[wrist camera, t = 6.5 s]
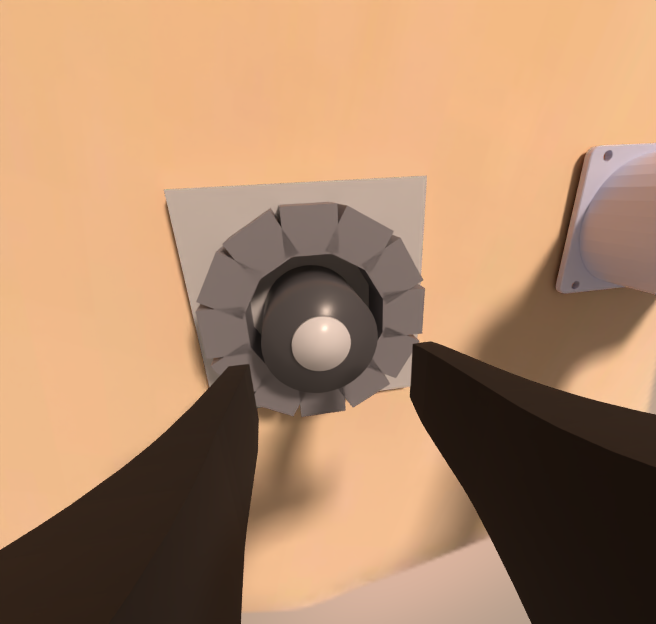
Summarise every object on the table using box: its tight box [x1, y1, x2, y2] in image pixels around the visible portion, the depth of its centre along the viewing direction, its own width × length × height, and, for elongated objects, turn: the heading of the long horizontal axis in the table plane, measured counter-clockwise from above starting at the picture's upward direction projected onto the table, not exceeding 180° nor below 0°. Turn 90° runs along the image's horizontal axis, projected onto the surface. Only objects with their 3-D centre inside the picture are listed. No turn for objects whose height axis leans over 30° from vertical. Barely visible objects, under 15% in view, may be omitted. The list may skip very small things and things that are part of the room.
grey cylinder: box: [261, 265, 378, 393], centre depth 14 cm, size 5×5×4 cm
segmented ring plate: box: [164, 176, 427, 417], centre depth 16 cm, size 12×12×3 cm
